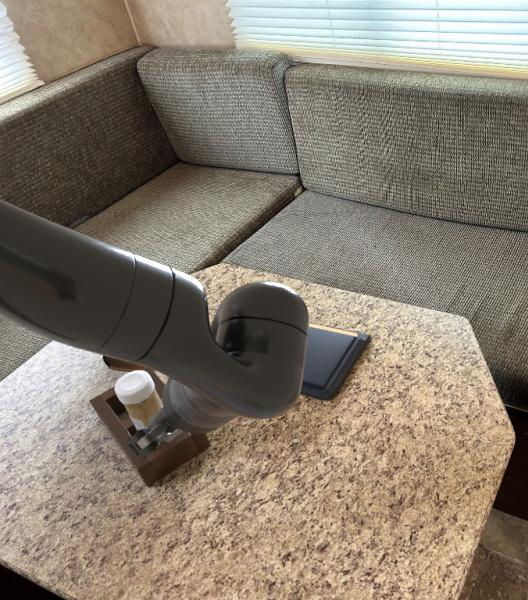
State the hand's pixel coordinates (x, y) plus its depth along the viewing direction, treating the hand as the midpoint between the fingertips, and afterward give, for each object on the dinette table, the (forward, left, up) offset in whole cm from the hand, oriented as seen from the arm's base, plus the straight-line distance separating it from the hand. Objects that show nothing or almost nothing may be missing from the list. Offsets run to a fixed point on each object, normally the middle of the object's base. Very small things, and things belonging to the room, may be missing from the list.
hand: (176, 416), depth 74 cm
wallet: (+22, +10, -13) cm, 28 cm away
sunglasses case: (+8, +33, -13) cm, 36 cm away
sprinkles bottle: (-2, +9, -13) cm, 16 cm away
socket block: (-2, +13, -13) cm, 18 cm away
